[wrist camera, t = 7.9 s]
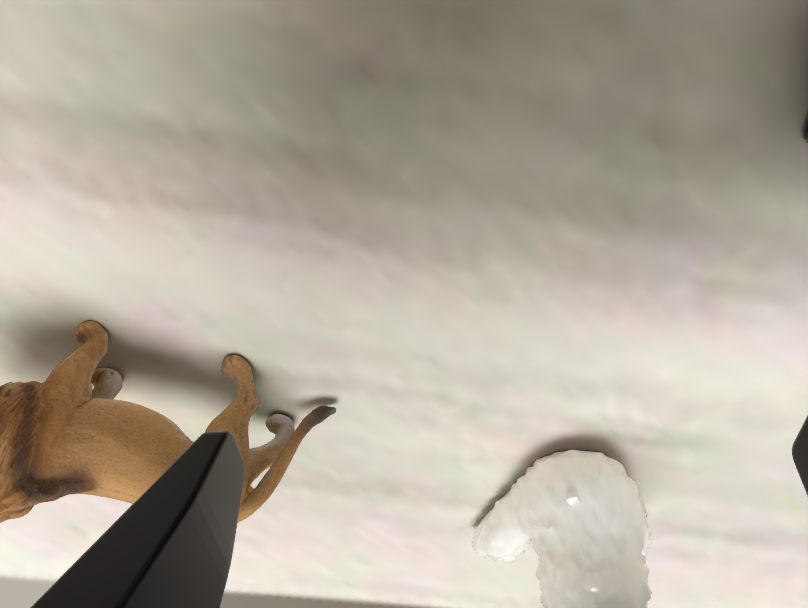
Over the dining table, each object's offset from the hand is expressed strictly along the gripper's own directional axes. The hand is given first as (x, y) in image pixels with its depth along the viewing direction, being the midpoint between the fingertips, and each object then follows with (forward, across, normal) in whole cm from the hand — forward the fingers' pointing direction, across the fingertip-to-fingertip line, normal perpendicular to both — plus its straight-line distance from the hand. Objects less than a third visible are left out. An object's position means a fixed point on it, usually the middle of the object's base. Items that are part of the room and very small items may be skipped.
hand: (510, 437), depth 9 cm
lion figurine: (+12, +14, +10) cm, 21 cm away
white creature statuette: (+12, -5, +18) cm, 23 cm away
